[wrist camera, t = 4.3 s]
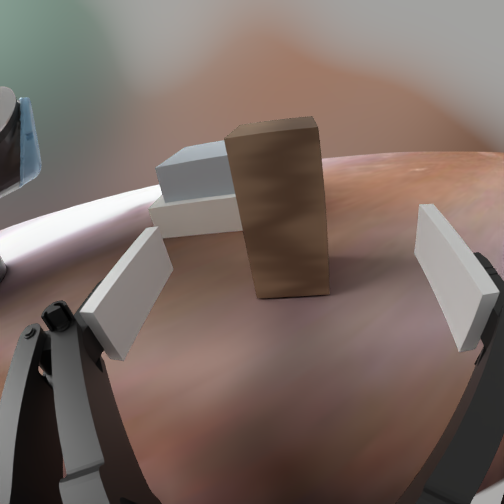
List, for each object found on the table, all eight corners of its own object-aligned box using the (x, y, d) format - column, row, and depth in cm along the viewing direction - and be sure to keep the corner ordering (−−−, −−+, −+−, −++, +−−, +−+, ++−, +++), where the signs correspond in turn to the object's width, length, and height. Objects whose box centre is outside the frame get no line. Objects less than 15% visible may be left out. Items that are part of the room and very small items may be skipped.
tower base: (159, 241, 33) (148, 208, 31) (191, 199, 43) (184, 173, 41) (265, 231, 30) (259, 194, 28) (273, 189, 40) (269, 160, 38)
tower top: (165, 202, 31) (154, 168, 29) (191, 175, 39) (185, 147, 37) (246, 192, 29) (239, 153, 27) (258, 166, 37) (253, 135, 35)
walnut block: (257, 298, 21) (223, 138, 15) (264, 258, 25) (239, 125, 19) (329, 294, 20) (318, 127, 14) (324, 254, 24) (312, 116, 18)
